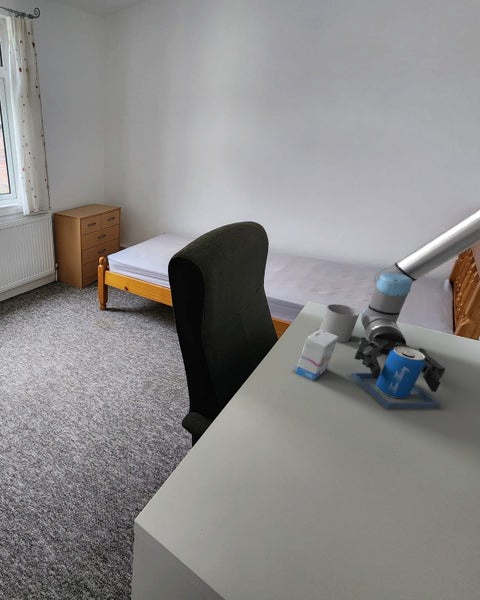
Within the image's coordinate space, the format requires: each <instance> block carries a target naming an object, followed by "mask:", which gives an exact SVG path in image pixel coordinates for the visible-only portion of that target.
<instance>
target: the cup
mask: <svg viewBox="0 0 480 600" xmlns="http://www.w3.org/2000/svg"><path fill="white" fill-rule="evenodd" d="M359 316H360V312H359V310H357V309H356V308H354V307H351V306H348V305H343V304H337V303H336V304H335V303H333V304H328V305H327V306H326V308H325V312H324V314H323V318H322V321H321V324H320V327H319V330H323V331H326V332H328V333H331V334H333V335H336V336H338V340H337V342H338V343H347V342H350V341H351V338H352V335H353V332H354V329H355V327H356V324H357V321H358V318H359ZM337 342H336V343H337Z"/></svg>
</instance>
